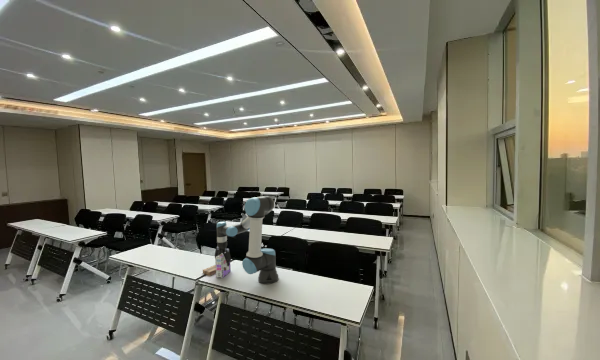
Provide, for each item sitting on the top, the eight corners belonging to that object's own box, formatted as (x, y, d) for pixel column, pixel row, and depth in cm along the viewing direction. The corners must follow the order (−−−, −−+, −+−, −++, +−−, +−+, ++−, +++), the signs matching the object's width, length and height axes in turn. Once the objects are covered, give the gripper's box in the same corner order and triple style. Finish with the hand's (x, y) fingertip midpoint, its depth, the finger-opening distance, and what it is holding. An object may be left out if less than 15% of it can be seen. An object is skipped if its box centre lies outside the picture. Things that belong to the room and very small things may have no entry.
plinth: (224, 269, 211) (224, 265, 211) (209, 275, 199) (209, 272, 199) (217, 267, 216) (217, 263, 216) (202, 273, 204) (202, 269, 204)
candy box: (222, 278, 194) (221, 257, 193) (215, 277, 195) (214, 257, 194) (231, 271, 207) (230, 251, 207) (224, 270, 208) (223, 251, 208)
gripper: (235, 242, 197) (236, 269, 198) (216, 238, 209) (218, 264, 210) (227, 244, 191) (229, 273, 191) (209, 240, 203) (210, 267, 204)
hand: (223, 268), depth 201 cm, fingers open, 10 cm apart
